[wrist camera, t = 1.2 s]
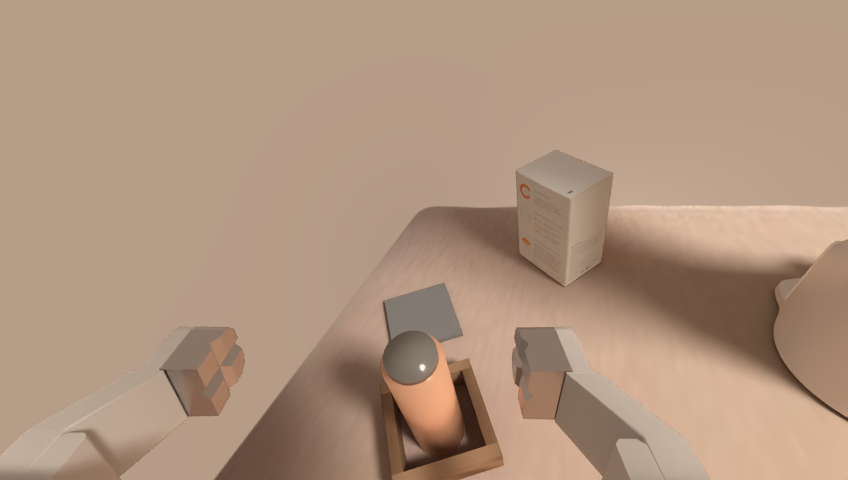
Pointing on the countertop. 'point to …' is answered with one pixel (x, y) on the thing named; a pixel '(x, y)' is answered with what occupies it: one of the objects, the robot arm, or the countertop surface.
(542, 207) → the small box
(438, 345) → the jar
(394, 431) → the brown wooden square tray
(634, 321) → the countertop surface
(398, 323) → the mat
